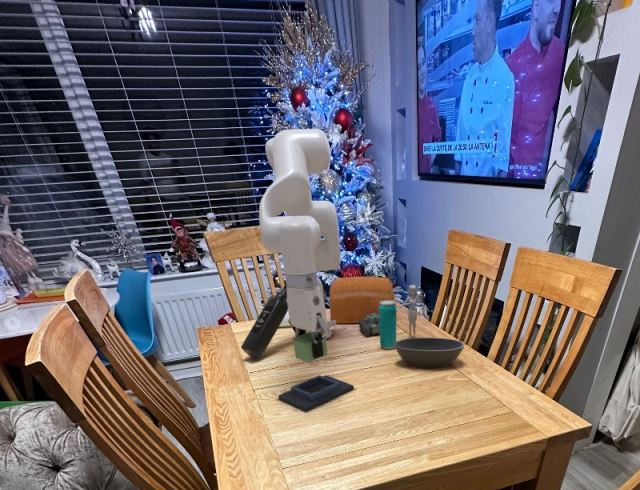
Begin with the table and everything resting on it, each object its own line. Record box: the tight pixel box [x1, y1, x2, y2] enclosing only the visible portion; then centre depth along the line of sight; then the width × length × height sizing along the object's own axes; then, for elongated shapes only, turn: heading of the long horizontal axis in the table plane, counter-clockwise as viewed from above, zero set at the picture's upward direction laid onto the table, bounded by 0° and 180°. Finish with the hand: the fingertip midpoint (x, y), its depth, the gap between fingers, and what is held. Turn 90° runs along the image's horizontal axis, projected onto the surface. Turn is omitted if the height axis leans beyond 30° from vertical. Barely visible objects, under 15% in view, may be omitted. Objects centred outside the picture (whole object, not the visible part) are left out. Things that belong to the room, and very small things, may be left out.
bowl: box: [394, 337, 465, 369], centre depth 136 cm, size 12×22×6 cm, turn 83°
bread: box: [329, 276, 395, 324], centre depth 172 cm, size 14×26×16 cm, turn 88°
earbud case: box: [278, 311, 291, 328], centre depth 172 cm, size 10×13×5 cm
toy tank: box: [358, 313, 380, 338], centre depth 162 cm, size 10×12×7 cm
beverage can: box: [379, 300, 398, 350], centre depth 146 cm, size 6×6×15 cm
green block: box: [292, 332, 328, 363], centre depth 114 cm, size 7×5×6 cm
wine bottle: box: [240, 283, 288, 360], centre depth 145 cm, size 6×6×30 cm
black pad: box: [277, 374, 355, 413], centre depth 122 cm, size 18×12×3 cm, turn 138°
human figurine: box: [396, 284, 430, 339], centre depth 151 cm, size 12×4×18 cm, turn 93°
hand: (311, 353), depth 115 cm, fingers closed on green block, 5 cm apart
